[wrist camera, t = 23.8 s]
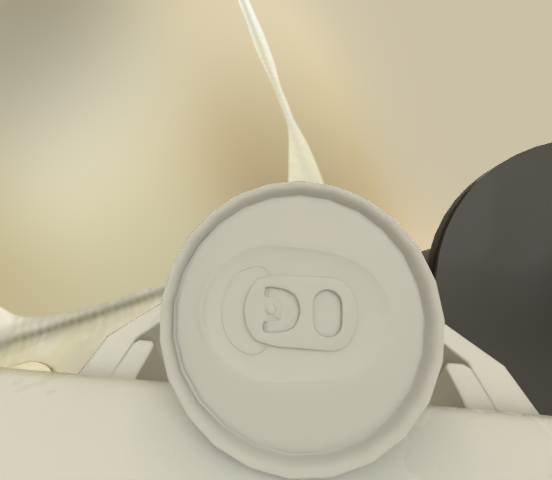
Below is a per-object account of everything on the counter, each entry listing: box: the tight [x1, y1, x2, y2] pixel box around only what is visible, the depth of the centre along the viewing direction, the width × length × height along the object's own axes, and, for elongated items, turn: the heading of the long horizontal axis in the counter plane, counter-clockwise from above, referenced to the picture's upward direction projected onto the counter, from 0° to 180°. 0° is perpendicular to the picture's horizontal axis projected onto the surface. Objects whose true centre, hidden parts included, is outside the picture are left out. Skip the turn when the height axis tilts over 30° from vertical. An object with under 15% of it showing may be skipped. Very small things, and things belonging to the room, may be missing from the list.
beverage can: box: [160, 181, 445, 479], centre depth 10 cm, size 5×5×12 cm
